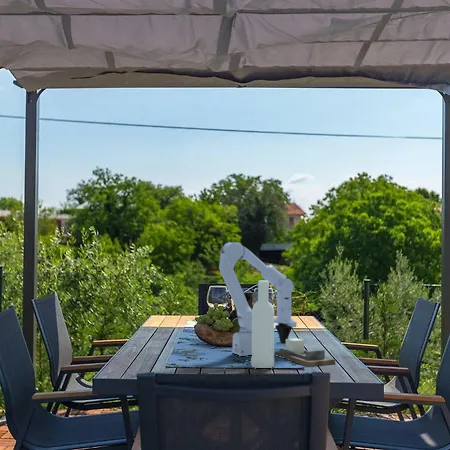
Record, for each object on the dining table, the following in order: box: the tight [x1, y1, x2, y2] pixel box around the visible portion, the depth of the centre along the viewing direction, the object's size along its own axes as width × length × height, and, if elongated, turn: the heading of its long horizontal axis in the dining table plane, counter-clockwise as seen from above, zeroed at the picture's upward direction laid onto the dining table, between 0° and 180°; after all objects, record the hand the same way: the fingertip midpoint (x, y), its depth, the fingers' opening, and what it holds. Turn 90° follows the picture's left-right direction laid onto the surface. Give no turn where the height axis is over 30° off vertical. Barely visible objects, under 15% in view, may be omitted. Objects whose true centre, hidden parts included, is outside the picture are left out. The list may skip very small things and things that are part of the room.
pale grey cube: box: [285, 337, 305, 354], centre depth 225 cm, size 5×5×5 cm
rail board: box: [274, 348, 336, 367], centre depth 220 cm, size 12×22×4 cm, turn 28°
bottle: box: [250, 279, 275, 368], centre depth 206 cm, size 8×8×30 cm
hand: (283, 343), depth 232 cm, fingers closed
